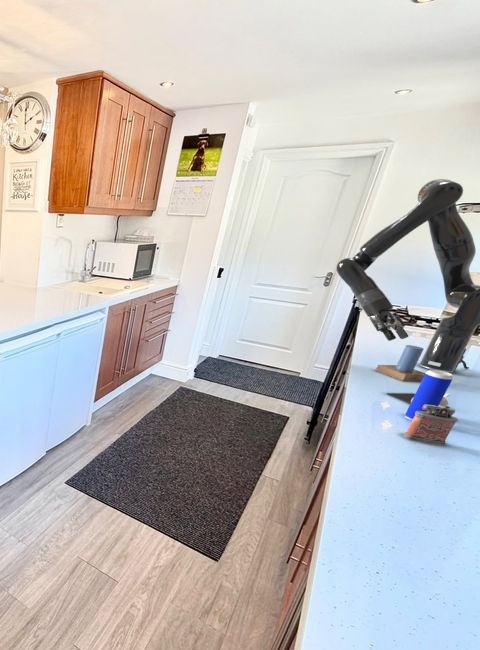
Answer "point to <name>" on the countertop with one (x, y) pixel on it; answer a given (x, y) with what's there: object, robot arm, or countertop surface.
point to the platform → (400, 373)
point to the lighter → (431, 424)
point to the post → (409, 358)
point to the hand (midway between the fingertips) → (398, 338)
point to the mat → (404, 397)
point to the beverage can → (429, 391)
